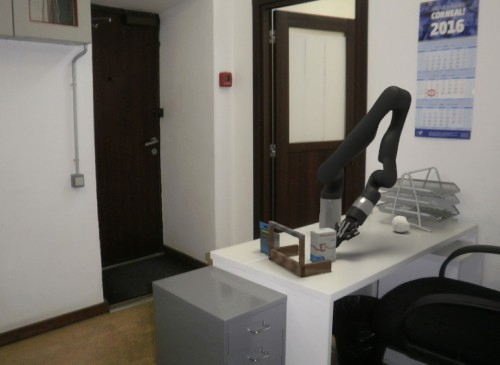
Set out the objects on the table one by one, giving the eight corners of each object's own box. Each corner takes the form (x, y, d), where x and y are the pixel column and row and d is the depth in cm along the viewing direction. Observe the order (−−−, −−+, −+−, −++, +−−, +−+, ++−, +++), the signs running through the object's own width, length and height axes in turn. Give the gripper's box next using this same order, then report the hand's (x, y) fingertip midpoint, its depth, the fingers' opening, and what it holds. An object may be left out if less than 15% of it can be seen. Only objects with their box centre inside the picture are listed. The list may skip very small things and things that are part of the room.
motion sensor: (412, 234, 207) (412, 217, 206) (396, 235, 206) (396, 218, 205) (404, 229, 215) (404, 213, 214) (388, 230, 214) (389, 214, 213)
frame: (268, 258, 176) (268, 221, 174) (296, 253, 182) (296, 217, 179) (301, 277, 156) (301, 235, 153) (331, 271, 161) (331, 230, 159)
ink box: (316, 264, 169) (317, 232, 167) (309, 260, 174) (309, 229, 172) (336, 260, 173) (336, 230, 171) (328, 256, 177) (329, 227, 175)
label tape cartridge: (280, 254, 181) (280, 224, 179) (272, 256, 179) (272, 225, 177) (267, 249, 188) (267, 219, 186) (259, 250, 186) (259, 221, 184)
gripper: (343, 202, 182) (318, 236, 178) (366, 208, 170) (339, 245, 167) (354, 213, 185) (329, 247, 182) (376, 220, 174) (350, 256, 170)
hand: (334, 246), depth 174 cm, fingers closed
